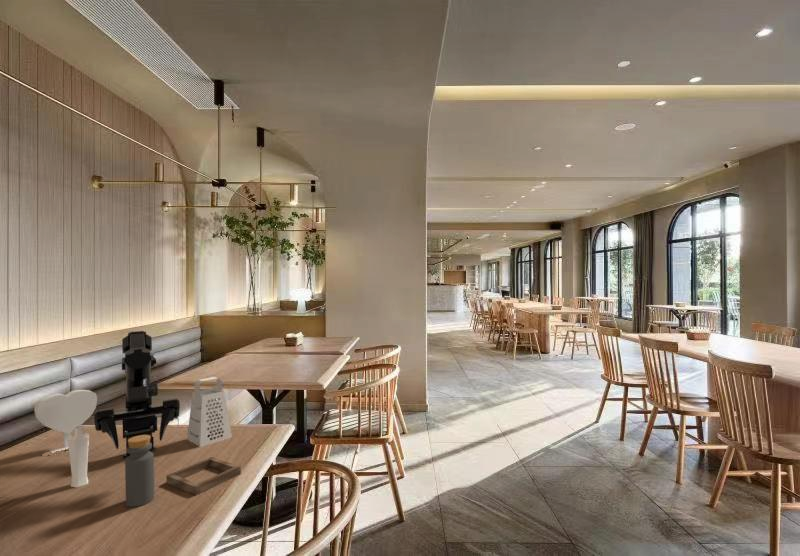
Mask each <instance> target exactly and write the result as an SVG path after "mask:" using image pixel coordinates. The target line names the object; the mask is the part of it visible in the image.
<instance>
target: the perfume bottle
mask: <svg viewBox="0 0 800 556" xmlns="http://www.w3.org/2000/svg"><path fill="white" fill-rule="evenodd" d="M84 427H85V425H83V424H82V425H80V426H77V427H74V435H72V437H71V438H69V439H68V446H69V451H68V453H69V455H68V456H69V463H70V472H71V483H70V487H71V488H72V487H73V488H75V489H77V488H81V487H83V486H86V485H88V484H89V478H88V462H89V458H88V457H89V446H90V445H89V441H90V434H89V433H85V432H84Z"/></svg>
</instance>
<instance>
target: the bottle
mask: <svg viewBox="0 0 800 556" xmlns="http://www.w3.org/2000/svg"><path fill="white" fill-rule="evenodd" d="M150 438H151V436H150V435H139V436H135V437H132V438H130V439H128V444H129V447H127V453H129V454H130V455H129V456H128V457H125V459H124V460H125V462H124V463H125V471H124V472H125V478H124V480H125V504H126V506H127V507H129V508H136V507H141V506H144V505H147V504H149V503H150V502H152V501H153V500H154V498H155V493H156V492H155V460H154V459H155V457H154V456H155V455H154V452H153V451H152V452H150V451H149V449H151V448H152V443H151V442H150Z"/></svg>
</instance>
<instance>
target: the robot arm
mask: <svg viewBox="0 0 800 556" xmlns="http://www.w3.org/2000/svg"><path fill="white" fill-rule="evenodd" d="M121 345H122V347H121V349H122V355H123V354H124V357H122V358H121V370H122V371H125V378H126V379H125V381H126V382H125V386H126V387H125V410H124V411H120V412H115V409H114V408H115V407H112V408H107V409H100V410H99V409H98V410H96V411H95V412H94V415H93V416H94V419H93V420H94V427H95V431H97V432H101V433H102V434H104V433H105V434H106V433H107V435H108V437H110V439H111V440H112V442H113V445H114V447H115V449H116V450H119V447H120V446H119V437H118V430H117V424H116V422H118V421H122V439H125V448H126V449H125V451H126V453H124V454H123V455H122V458H125V459H126V458H127V457H128V456H129V455H130V454H129V453H127V447H129V444H128V439H130V438H132V437H135V436H139V435H150V436H151V438H150V442H151V443H152V448H151V449H149V451H150V452H152V453H153V451H155V450H157V449H156V446H155V444H154V441H155V440H154V436H153V434H154V433H156V431H158V416H157V415H161V417H160V427H159V441H162V440H163V437H164V434H165V431H166V429H167V427H168V425H169V423H170V422H172V421H174V419H175V418H178V417H180V410H181V409H180V407H181V406H180V405H181V404H180V399H179V398H176V397H175V398H172V399H164V400H162V405H160V406H153V407H152V405H153V401H152V400H153V399H152V398H153V397H157V396H158V395H159V388H158V382H151V372H152V371H151V370H152V368H154V367H155V365H156V364H157V359H156V358H155V356H154V354H151V352H152V351H153V350H152V348H153V341H152V336H151V335H149V334H147V331H144V330H136V331H130V332H128V333H127V335H126V336H124V337H123V338H122V341H121Z"/></svg>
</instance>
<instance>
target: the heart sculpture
mask: <svg viewBox="0 0 800 556" xmlns="http://www.w3.org/2000/svg"><path fill="white" fill-rule="evenodd" d="M97 403H98V396H97V393H96V392H94V391H92V390H88V389H75V390H74V389H72V390H71V391H70V392H68V393H66V394H63V393H59V392H57V393H54V394H49V395H47V396H44V397H42V398H39V399H38V401H36V402H35V404H34V408H33V409H34V415H35V418H36V419H37V420H38V422H39V423H41V425H43V426H45V427H47V428H48V429H52V430H54V431H59V432H62V433H63V446H60V447H57V448H55V449H50V450H51V452H52V453H54V452H56V451H61V450H65V449H68V448H69V446H68V439H69V438H71V437H72V436H73V435H72V434H73V433H72V432H73V431H75V429H74V427H77V426H82V425H83V423H85V422H86V421H87V420H88V419H89V418H90V417H91V416H92V415H93V413H95V412H94V411H95V410H96V408H97Z"/></svg>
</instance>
